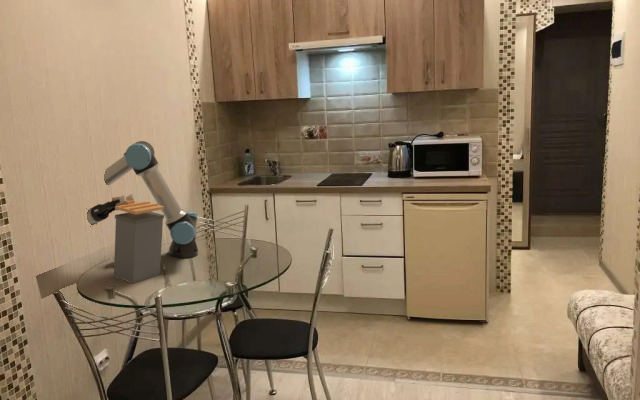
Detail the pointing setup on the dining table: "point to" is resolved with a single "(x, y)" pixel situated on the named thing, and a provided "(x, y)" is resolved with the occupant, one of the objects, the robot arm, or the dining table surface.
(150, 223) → the tall grey box
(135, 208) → the lid
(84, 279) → the dining table surface
